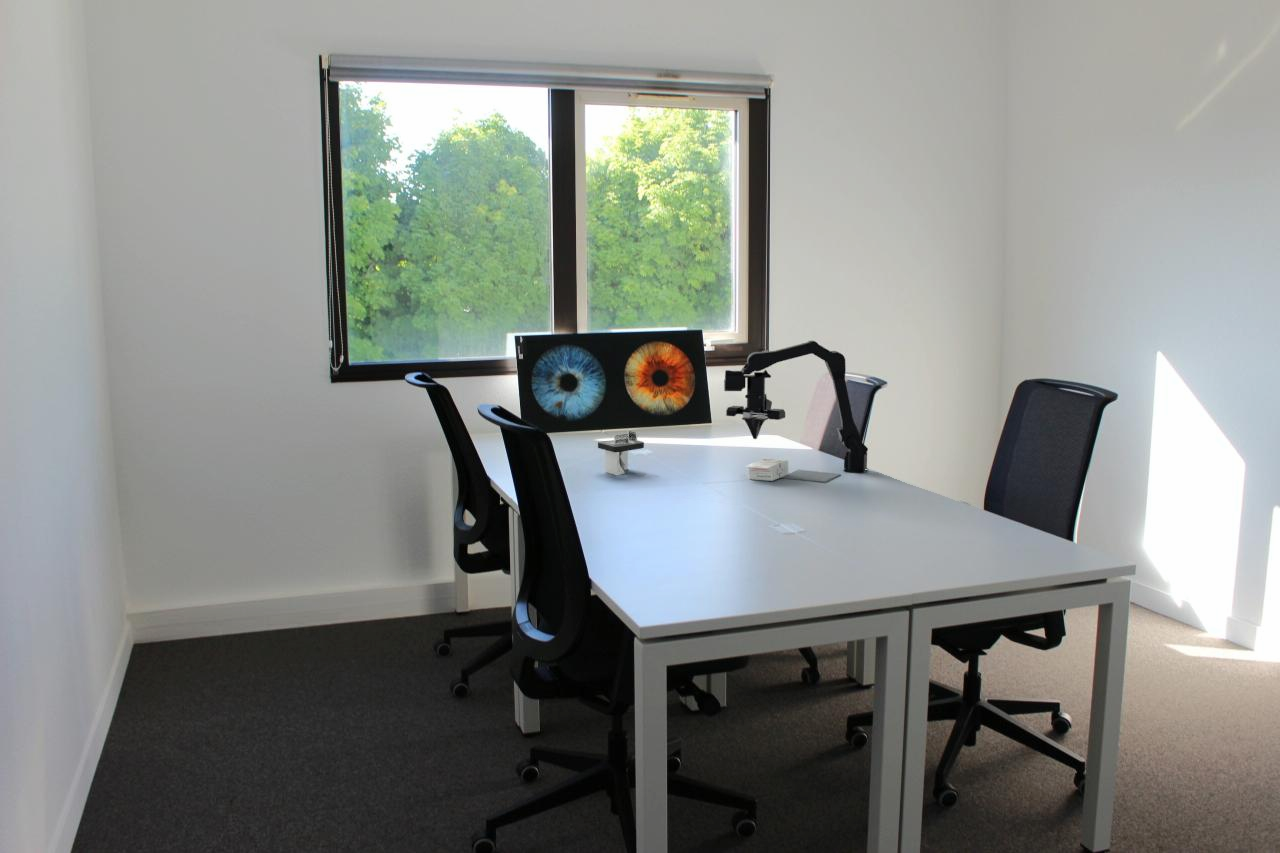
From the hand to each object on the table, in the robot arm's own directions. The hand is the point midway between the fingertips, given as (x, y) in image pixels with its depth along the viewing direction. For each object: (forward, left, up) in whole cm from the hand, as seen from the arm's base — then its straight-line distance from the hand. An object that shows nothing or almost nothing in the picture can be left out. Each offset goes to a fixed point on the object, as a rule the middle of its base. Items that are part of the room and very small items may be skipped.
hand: (755, 438), depth 355 cm
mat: (-20, 0, -10) cm, 22 cm away
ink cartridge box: (-9, +2, -8) cm, 12 cm away
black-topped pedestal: (+36, +24, -11) cm, 45 cm away
